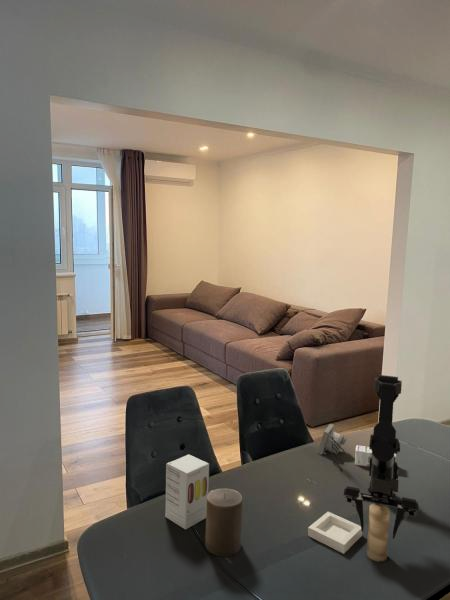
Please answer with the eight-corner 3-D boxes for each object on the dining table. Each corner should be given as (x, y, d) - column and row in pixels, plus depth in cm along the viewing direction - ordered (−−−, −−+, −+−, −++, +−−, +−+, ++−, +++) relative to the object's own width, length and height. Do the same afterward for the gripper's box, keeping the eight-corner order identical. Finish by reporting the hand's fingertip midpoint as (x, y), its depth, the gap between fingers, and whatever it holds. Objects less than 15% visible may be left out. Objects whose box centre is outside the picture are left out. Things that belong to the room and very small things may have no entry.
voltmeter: (311, 446, 186) (312, 423, 185) (337, 445, 188) (338, 422, 187) (335, 477, 160) (337, 450, 159) (365, 476, 162) (367, 449, 161)
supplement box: (185, 530, 127) (186, 473, 126) (164, 517, 133) (164, 463, 132) (208, 516, 134) (210, 462, 133) (187, 504, 140) (188, 453, 139)
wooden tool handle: (377, 547, 122) (379, 501, 120) (390, 558, 117) (393, 511, 116) (362, 551, 120) (365, 505, 118) (375, 563, 115) (378, 515, 114)
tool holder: (327, 519, 134) (327, 511, 134) (362, 535, 127) (362, 527, 127) (307, 535, 126) (308, 527, 126) (343, 553, 119) (344, 544, 118)
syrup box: (395, 450, 170) (356, 444, 175) (396, 456, 165) (355, 450, 170) (394, 464, 171) (355, 458, 176) (395, 471, 165) (354, 464, 170)
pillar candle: (229, 562, 115) (231, 506, 113) (197, 548, 120) (199, 494, 118) (247, 542, 123) (249, 490, 121) (217, 530, 128) (219, 479, 127)
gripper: (346, 458, 123) (339, 517, 114) (420, 471, 116) (419, 535, 107) (348, 472, 131) (341, 529, 122) (417, 485, 125) (415, 546, 115)
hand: (377, 534), depth 117 cm, fingers open, 7 cm apart
